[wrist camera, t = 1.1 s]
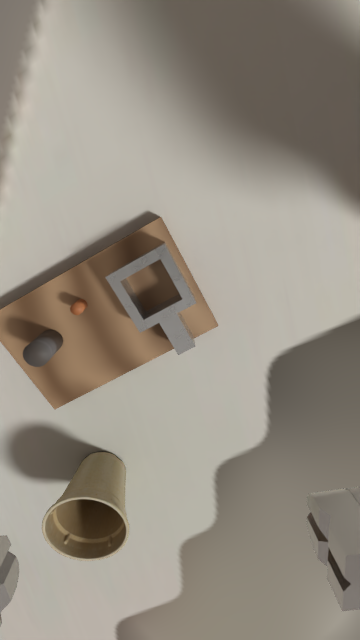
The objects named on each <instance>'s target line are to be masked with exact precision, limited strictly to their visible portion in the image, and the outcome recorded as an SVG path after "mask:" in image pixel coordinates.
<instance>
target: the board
mask: <svg viewBox="0 0 360 640" xmlns="http://www.w3.org/2000/svg"><path fill="white" fill-rule="evenodd" d="M164 242H165V243H166V245H167V247H168V248H169V250H170V252H171V254H172V256H173V258H174V259H175V261H176V263H177V265H178V267H179V269H180V271H181V272H182V274H183V276H184V278H185V280H186V282H187V284H188V285H189V287H190V289H191V291H192V293H193V295H194V297H195V300H196V304H194V305H192V306H190V307H188V308H186V309H184V310H183V311H181V312H180V313H181V315H182V317H183V318H184V320H185V322H186V324H187V326H188V327H189V329H190V331H191V333H192V334H193V337H194V338H195V337H197V336H199V335H201V334H203V333H205V332H207V331H209V330H211V329H213V328H215V327H217V326H218V324H217V322H216V320H215V318H214V316H213V314H212V312H211V310H210V308H209V307H208V305H207V303H206V301H205V299H204V297H203V295H202V293H201V291H200V290H199V288H198V286H197V284H196V282H195V280H194V278H193V276H192V274H191V273H190V271H189V269H188V267H187V265H186V263H185V261H184V259H183V257H182V256H181V254H180V252H179V250H178V248H177V246H176V244H175V242H174V240H173V239H172V237H171V235H170V233H169V231H168V229H167V227H166V225H165V223H164V222H163V220H162V218H161V217H160V218H158V219H156V220H155V221H153V222H151V223H149V224H148V225H146V226H144V227H142V228H141V229H139V230H137V231H135V232H134V233H132V234H130V235H128V236H127V237H125V238H123V239H122V240H120V241H118V242H116V243H115V244H113V245H111V246H109V247H108V248H106V249H104V250H102V251H101V252H99V253H97V254H96V255H94V256H92V257H90V258H89V259H87V260H85V261H83V262H82V263H80V264H78V265H76V266H75V267H73V268H71V269H70V270H68V271H66V272H64V273H63V274H61V275H59V276H57V277H56V278H54V279H52V280H50V281H49V282H47V283H45V284H43V285H42V286H40V287H38V288H37V289H35V290H33V291H31V292H30V293H28V294H26V295H24V296H23V297H21V298H19V299H17V300H16V301H14V302H12V303H11V304H9V305H7V306H5V307H4V308H2V309H0V341H1V343H2V344H3V345H4V346H5V348H6V349H7V350H8V351H9V353H10V354H11V355H12V356H13V358H14V359H15V360H16V361H17V363H18V364H19V365H20V366H21V368H22V369H23V370H24V371H25V373H26V374H27V375H28V377H29V378H30V379H31V380H32V382H33V383H34V384H35V385H36V387H37V388H38V389H39V390H40V392H41V393H42V394H43V395H44V397H45V398H46V399H47V400H48V402H49V403H50V404H51V405H52V407H53V408H54V409H57V408H59V407H60V406H62V405H64V404H66V403H68V402H70V401H72V400H74V399H76V398H78V397H80V396H82V395H84V394H86V393H88V392H90V391H92V390H94V389H96V388H98V387H100V386H102V385H104V384H105V383H107V382H109V381H111V380H113V379H115V378H117V377H119V376H121V375H123V374H125V373H127V372H129V371H131V370H133V369H135V368H137V367H139V366H141V365H143V364H145V363H147V362H149V361H150V360H152V359H154V358H156V357H158V356H160V355H162V354H164V353H166V352H168V351H170V350H172V349H174V347H173V345H172V344H171V342H170V340H169V339H168V337H167V335H166V334H165V332H164V330H163V329H162V327H161V325H160V323H158V324H156V325H154V326H152V327H150V328H148V329H146V330H145V331H143V332H141V333H140V332H139V330H138V329H137V327H136V326H135V324H134V322H133V321H132V319H131V318H130V316H129V314H128V313H127V311H126V310H125V308H124V306H123V305H122V303H121V302H120V300H119V298H118V297H117V295H116V294H115V292H114V290H113V289H112V287H111V286H110V284H109V282H108V281H107V279H106V278H105V277H106V276H107V275H109V274H110V273H111V272H113V271H115V270H116V269H118V268H120V267H122V266H123V265H125V264H127V263H129V262H130V261H132V260H134V259H136V258H138V257H139V256H141V255H143V254H145V253H146V252H148V251H150V250H152V249H154V248H155V247H157V246H159V245H161V244H162V243H164ZM126 279H127V281H128V283H129V284H130V286H131V287H132V289H133V291H134V292H135V294H136V296H137V297H138V299H139V301H140V302H141V304H142V306H143V307H144V309H145V311H148V310H150V309H152V308H154V307H155V306H157V305H159V304H161V303H163V302H165V301H167V300H168V299H170V298H172V297H174V296H176V295H178V294H180V293H179V292H178V290H177V288H176V286H175V284H174V283H173V281H172V279H171V277H170V275H169V274H168V272H167V270H166V268H165V266H164V265H163V263H162V261H161V259H159V260H157V261H156V262H154V263H152V264H150V265H148V266H147V267H145V268H143V269H141V270H139V271H138V272H136V273H134V274H132V275H130V276H129V277H127V278H126Z"/></svg>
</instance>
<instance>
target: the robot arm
mask: <svg viewBox="0 0 360 640" xmlns="http://www.w3.org/2000/svg"><path fill="white" fill-rule="evenodd" d="M307 505H308V507H309V509H310V511H311V512H310V513H309V515H308V516H307V528H308V533H309V537H310V540H311V543H312V546H313V549H314V551H315V553H316V555H317V558H318V559H319V560H320V561H321V562H323V563H324V564H325V565H326V566H327V579H328V582H329V584H330V586H331V588H332V590H333V592H334V594H335V597H336V599H337V601H338V603H339V605H340V607H341V609H342V611H347V610H358V609H360V487H354V488H347V489H344V488H343V489H336V490H330V491H323V492H316V493H310V494H308V496H307ZM10 546H11V543H10V541H9V539H8V537H7V536H0V612H1V611H2V610H3V609H4V608H5V607H6V606H7V605H8V604H9V602H10V601H11V600H12V597H13V595H14V592H15V590H16V587H17V582H18V577H19V563H18V560H17V557H16V556H15V555H13V554H12V553H10V552H9V551H8V550H9V548H10ZM1 624H2V621H1V614H0V626H1Z"/></svg>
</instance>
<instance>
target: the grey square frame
mask: <svg viewBox="0 0 360 640" xmlns="http://www.w3.org/2000/svg"><path fill="white" fill-rule="evenodd" d="M159 259H161V261H162V263H163V265H164V266H165V268H166V270H167V272H168V274H169V275H170V277H171V279H172V281H173V283H174V284H175V286H176V288H177V290H178V292H179V293H180V294H178V295H176V296H174V297H172V298H170V299H168V300H167V301H165V302H163V303H161V304H159V305H157V306H155V307H154V308H152V309H150V310H148V311H145V309H144V307H143V306H142V304H141V302H140V301H139V299H138V297H137V296H136V294H135V292H134V291H133V289H132V287H131V286H130V284H129V283H128V281H127V279H126V278H127V277H129V276H130V275H132V274H134V273H136V272H138V271H139V270H141V269H143V268H145V267H147V266H148V265H150V264H152V263H154V262H156V261H157V260H159ZM105 278H106V279H107V281H108V282H109V284H110V286H111V287H112V289H113V290H114V292H115V294H116V295H117V297H118V298H119V300H120V302H121V303H122V305H123V306H124V308H125V310H126V311H127V313H128V314H129V316H130V318H131V319H132V321H133V322H134V324H135V326H136V327H137V329H138V330H139V332H140V333H141V332H143V331H145V330H146V329H148V328H150V327H152V326H154V325H156V324H158V323H160V325H161V327H162V329H163V330H164V332H165V334H166V335H167V337H168V339H169V340H170V342H171V344H172V345H173V347H174V349H175V350H176V352H177V354H178V355H179V354H181V353H183V352H185V351H187V350H189V349H191V348H193V347H195V342H194V337H193V334H192V333H191V331H190V329H189V327H188V326H187V324H186V322H185V320H184V318H183V317H182V315H181V313H180V312H181V311H183V310H184V309H186V308H188V307H190V306H192V305H194V304H196V300H195V297H194V295H193V293H192V291H191V289H190V287H189V285H188V284H187V282H186V280H185V278H184V276H183V274H182V272H181V271H180V269H179V267H178V265H177V263H176V261H175V259H174V258H173V256H172V254H171V252H170V250H169V248H168V247H167V245H166V243H165V242H164V243H162V244H161V245H159V246H157V247H155V248H154V249H152V250H150V251H148V252H146V253H145V254H143V255H141V256H139V257H138V258H136V259H134V260H132V261H130V262H129V263H127V264H125V265H123V266H122V267H120V268H118V269H116V270H115V271H113V272H111V273H110V274H109V275H107V276H106V277H105Z"/></svg>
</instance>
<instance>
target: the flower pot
mask: <svg viewBox="0 0 360 640" xmlns="http://www.w3.org/2000/svg"><path fill="white" fill-rule="evenodd" d="M125 480H126V468H125V465H124V463H123V462H122V461H121V460H119V459H118V458H117V457H116V456H115V455H114V454H111V453H107V452H96V453H92V454H90V455H89V456H88V457H86V458H85V459H84V460H83V461H82V462H81V464H80V466H79V468H78V470H77V471H76V473H75V475H74V476H73V478H72V480H71V482H70V483H69V485H68V487H67V488H66V490H65V492H64V493H63V495H62V496H61V497H60V498H59V499H58V500H57V502H56V503H55V504H54V505H52V506H51V507H50V508H49V510H48V511H47V513H46V514H45V516H44V518H43V522H42V532H43V535H44V538H45V540H46V541H47V543H48V544H49V545H50V546H51V547H52V548H53V549H54V550H55V551H57V552H58V553H59V554H61V555H63V556H66V557H69V558H71V559H77V560H81V561H94V560H100V559H104V558H108V557H110V556H112V555H114V554H116V553H117V552H118V551H119V550H121V549H122V547H123V546H124V545H125V543H126V542H127V539H128V536H129V523H128V520H127V517H126V511H125Z"/></svg>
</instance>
